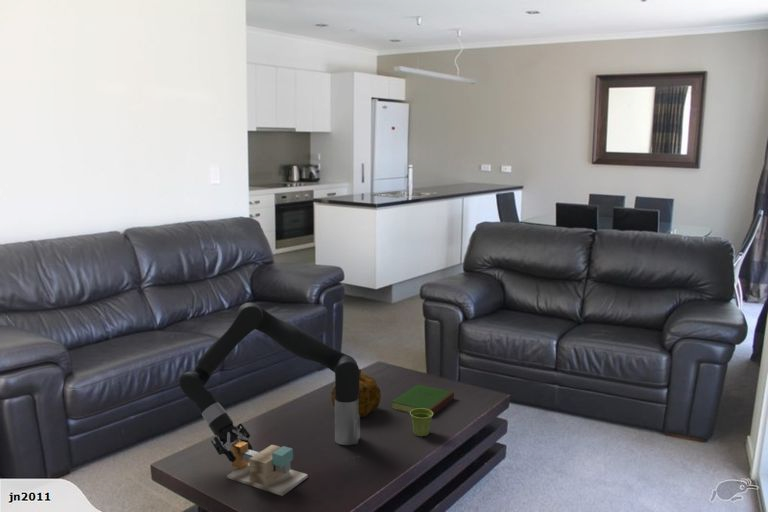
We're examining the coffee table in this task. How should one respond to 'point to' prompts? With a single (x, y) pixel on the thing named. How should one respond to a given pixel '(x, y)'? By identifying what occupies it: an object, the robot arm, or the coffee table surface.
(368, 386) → the decorative pumpkin
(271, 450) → the bearing block
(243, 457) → the shaft
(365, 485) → the coffee table surface
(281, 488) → the base board
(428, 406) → the hardcover book
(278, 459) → the block
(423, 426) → the plant pot
